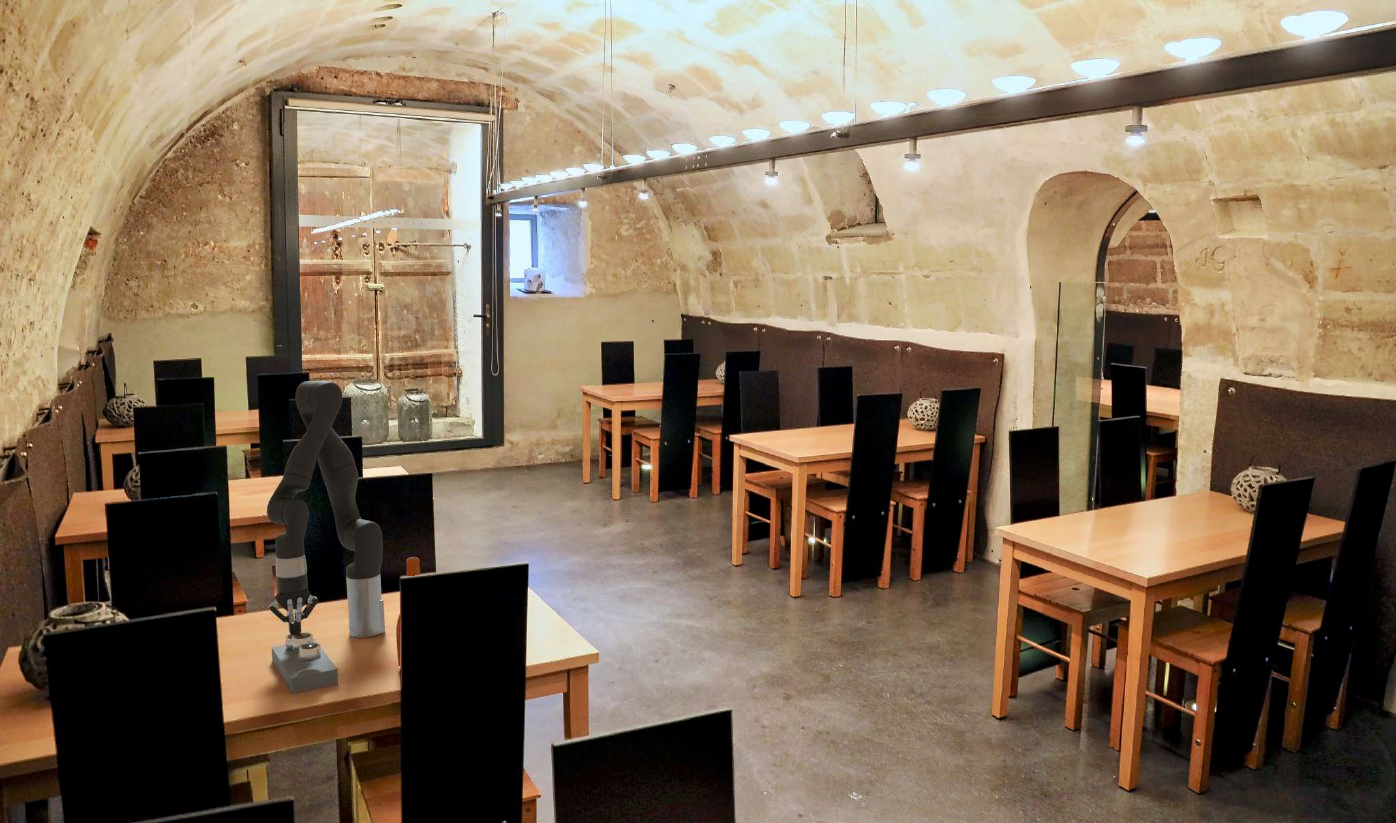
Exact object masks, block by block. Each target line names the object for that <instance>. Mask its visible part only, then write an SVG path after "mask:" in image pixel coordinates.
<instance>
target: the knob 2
mask: <svg viewBox="0 0 1396 823" xmlns="http://www.w3.org/2000/svg"><path fill="white" fill-rule="evenodd" d="M313 636H314V635H313V633H311V632H301V633H299V634H296V635H294V636H292V647H293V650H295V651H299V647H300V646H301V645H303V644H307V643H313V639H314V638H313Z"/></svg>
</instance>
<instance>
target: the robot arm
mask: <svg viewBox="0 0 1396 823" xmlns="http://www.w3.org/2000/svg"><path fill="white" fill-rule="evenodd" d="M294 396H295V404H296V407H297V410H298V413H299V414H300V417H301V419H302V421H303V424H304V425H305V427H306V432H305V433H304V434H303V436H302V437H301V438H300V440H299V441H297V443H296V445H295V446H294V447H293V449H292V451H291V453H290V455H289V457H288V459H287V461H286V466H285V469H284V473H283V475H282V479H281V480H280V482H279V484H278V485H277V487H276V488H275V490H274V492H273V493H272V495H271V497H270V499H269V500H268V503H267V506H266V515H267V518H268V520H269V522H271V523H273V524H278V525H285V526H286V531H285V532H282V533H278V534H277V535H276V537H275V539H274V540H275V544H274V545H275V546H274V547H275V576H276V592H277V593H276V596H275V600H274V601H273V602H272V603H269V604H267V608H268V609H269V611H270V612H272V614H273V615H275V617H277V618H278V619H279V620H280V621H282V622H283V623H288V632H289V634H291V635H293V636H294V635H296V634H299V633H302V620H304V619H308V617H309V616H310V615H311V613H312V612H313V610H314V609H315V607H316V606H317V604H318V602H319V601H320V600H319V598H318V597H317V596H313V595H312V594H311V593H310V591H309V586H308V572H307V571H308V566H307V560H306V555H305V535H306V532H307V527H308V521H309V517H310V512H309V507H308V505H307V503H306V502H305V500H303V499H300V498H295V496H297V494H298V493H300V492H304V491H307V490H308V489H309V488H310V486H311V482H312V478H313V476H314V471H315V469H316V465H317V462H318V466H319V469H320V470H319V471H320V472H321V473H320V474H321V475H322V479H323V482H324V485H325V487H326V490H327V496H328V498H329V502H330V505H331V508H332V513H333V517H334V522H335V528H336V533H337V537H338V540H339V542H340V544H341V546H342V547H343V548H345V549H346V550H349V551H352V552H354V561H353V562H352V563H350V564H348V565H347V566H346V568H345V575H346V578H345V579H346V591H347V592H346V593H347V594H346V595H347V609H348V610H347V611H348V614H347V615H348V632H349V636H350V637H353V638H356V639H357V638H358V639H361V638H363V639H364V638H371V637H372V638H373V637H376V636H378V635H380V634H383V633H386V625H385V624H386V622H385V621H386V620H385V600H384V599H383V598H382V585H381V584H382V583H381V582H382V581H381V568H382V567H381V566H382V563H383V555H384V554H383V553H384V552H383V551H384V549H383V546H384V544H383V543H384V542H383V541H384V540H383V532H382V529H381V526H380V525H379V524H378V523H377V522H374V521H371V520H366V519H362V517H361V515H360V511H359V509H358V505H357V503H356V502H357V501H356V493H357V488H358V482H359V472H358V469H357V465H356V462H355V458H354V456H353V453H352V451H351V450H350V448H349V446H348V445H347V444H346V443H345V442H344V441H343V439H342V438H341V437H340V435H339V434H338V433H337V432H336V431H335V429H334V428H333V424H334V423H335V420H336V418H337V416H338V414H339V412H340V409H341V406H342V403H343V392H342V388H341V387H340V386H339V385H338V384H337V383H336V382H333V381H329V380H328V381H327V380H309V381H303V382H301V383H300V384H299V385H298V386H297V388H296V390H295V395H294ZM306 603H307V604H306ZM305 604H306V605H305ZM279 605H280V607H282V609H284V610H285V612H286V615H284V614H283V613H282V612H281V611H280V610H279V609H280V607H279ZM304 606H305V607H304ZM303 607H304V608H303Z"/></svg>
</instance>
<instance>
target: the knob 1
mask: <svg viewBox="0 0 1396 823" xmlns="http://www.w3.org/2000/svg"><path fill="white" fill-rule="evenodd" d="M292 636H293V635H291V634H290V633H289V634H287V635H286V636H285V644H286V649H287V650H293V647H292Z"/></svg>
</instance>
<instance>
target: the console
mask: <svg viewBox="0 0 1396 823" xmlns="http://www.w3.org/2000/svg"><path fill="white" fill-rule="evenodd" d="M313 643H318V642H317V640H316V639H315V638H313ZM320 648H321V658H319V659H317V660H314V661H308V662H305V661H301V660H300V653H299V651H295V650H287V649H286V643H285V644H280V645H277V646H271V657H272V660H271V661H272V663H273V665H274V666H275V667H276V670H277V671H278V673H279V674H280V676H281V677H283V678H282V680H283V681H284V682H285V684H286V685H287V687H288V689H289V691H290V692H291V693H292V695H294V694H298V693H303V692H307V691H311V690H317V689H321V688H326V687H330V686H336V685H338V684H339V676H338V675H339V673H338V671H339V670H338V667H337V666H336V665H335V663H334V662H333V661H332V660H331V659H330V657H329V656H328V654H326V652H325V651H324V649H323V648H322V647H321V646H320Z"/></svg>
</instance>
